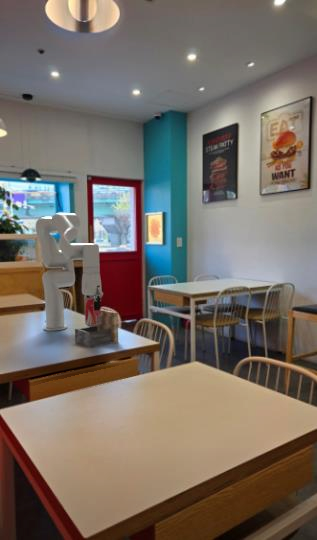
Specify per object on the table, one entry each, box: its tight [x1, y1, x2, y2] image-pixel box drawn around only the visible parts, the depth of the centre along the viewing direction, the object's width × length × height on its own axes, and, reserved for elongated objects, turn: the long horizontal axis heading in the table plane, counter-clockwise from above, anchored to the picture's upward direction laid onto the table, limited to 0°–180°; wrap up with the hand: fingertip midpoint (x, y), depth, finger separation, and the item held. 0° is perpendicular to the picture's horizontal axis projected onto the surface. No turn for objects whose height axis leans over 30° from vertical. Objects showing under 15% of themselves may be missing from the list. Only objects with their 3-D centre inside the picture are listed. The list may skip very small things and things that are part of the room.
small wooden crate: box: [74, 308, 119, 348], centre depth 176 cm, size 18×13×14 cm
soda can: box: [84, 296, 101, 327], centre depth 175 cm, size 7×7×13 cm
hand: (92, 308), depth 175 cm, fingers closed on soda can, 6 cm apart
